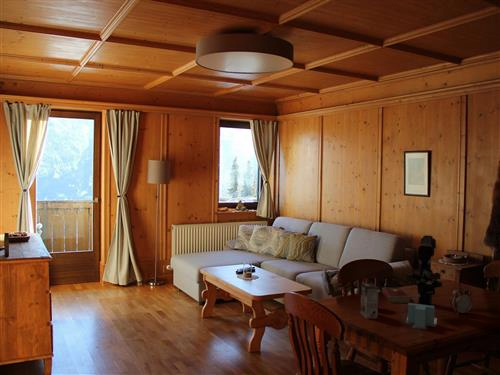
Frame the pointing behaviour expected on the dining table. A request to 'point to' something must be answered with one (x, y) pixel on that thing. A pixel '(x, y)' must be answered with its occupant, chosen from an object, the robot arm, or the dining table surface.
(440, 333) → the dining table surface
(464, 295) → the alarm clock
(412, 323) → the mat
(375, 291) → the coffee box
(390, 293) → the hardcover book
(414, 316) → the T block
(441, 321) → the dining table surface
